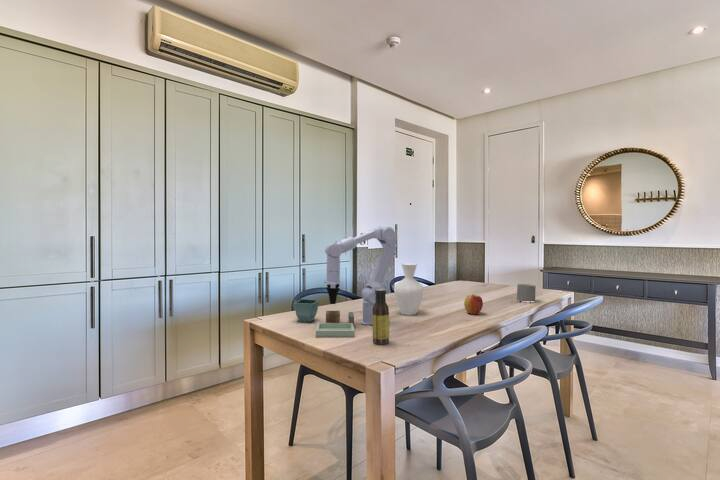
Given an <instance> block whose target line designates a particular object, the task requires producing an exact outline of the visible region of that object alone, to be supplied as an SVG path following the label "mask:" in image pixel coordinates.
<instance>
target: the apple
mask: <svg viewBox="0 0 720 480" xmlns="http://www.w3.org/2000/svg"><path fill="white" fill-rule="evenodd" d="M483 301H484V300H483V298H482V297H481V296H480V295H478V294H471V295H470V294H469V295H467V296H466V297H465V299H464V301H463V302H464V303H463V305H464V309H465V311H466V313H467V314H469V313H470V314H469V315H478V314H480V313H481V311H482V308H483V305H484V302H483Z"/></svg>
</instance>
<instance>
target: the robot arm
mask: <svg viewBox="0 0 720 480" xmlns="http://www.w3.org/2000/svg"><path fill="white" fill-rule="evenodd" d="M396 238H397V234H396V231H395V229H394V228H393V227H392V226H386V227H385V226H379V227H377V228H372V229H369V230H368V231H365V232H362V233H360V234H359V235H356V236H355V237H354V236H350V235H346V236H344V238H341V239H340V240H335V241H334V243H333V242H332V243H329V244H327V246H326V247H325V250H324V252H325V254H326V280H324V281H323V284H326V289H325V290H326V292H327V293H328V297H329V304H330V305H336V302H337V298H338V293H339V291H340V289H341V288H340V283H341V278H340V277H341V275H340V274H341V271H340V270H341V259H340V258H341V255H342V254H344V253H348V252H349V251H351V250H354V249H355V248H356V247H357V245H358V244H361V243H364V242H367V241H369V240H371V239H376V240H377V241H378V242H379V243H380V244H381V247H382V251H381V254H380V255H379V259H378V260H377V264H376V266H375V269H374V270H373V273H372V275H371V278H370V280H369V281H368V282H367V283H366V285H365V287H364V288H362V290H361V293H360V296H361V298H362V299H363V300H362V319H360V321H361V324H362V325H368V326H369V325H373V320H372V314H373V306H374V304H375V302H376V301H375V300H376V294H375V290H376V289H383V288H382V285H383V281H384V279H385V277H386V274H387V272H388V269H389V267H390V265H391V262H392V260H393V257H394V256H395V255H394V254H395V253H396V249H397V243H396V241H397V240H396Z"/></svg>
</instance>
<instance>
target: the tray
mask: <svg viewBox="0 0 720 480" xmlns="http://www.w3.org/2000/svg"><path fill="white" fill-rule="evenodd" d="M315 338H355V325H354V326H353V323H348V322H340V323H326V322H317V323H316V328H315Z"/></svg>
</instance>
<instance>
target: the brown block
mask: <svg viewBox="0 0 720 480" xmlns="http://www.w3.org/2000/svg"><path fill="white" fill-rule="evenodd" d="M325 323H341V310H326V311H325Z"/></svg>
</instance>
